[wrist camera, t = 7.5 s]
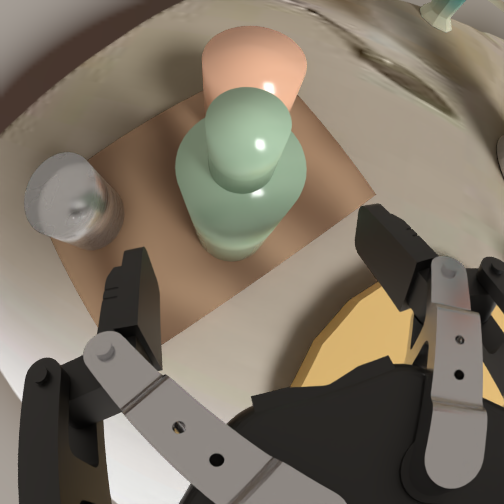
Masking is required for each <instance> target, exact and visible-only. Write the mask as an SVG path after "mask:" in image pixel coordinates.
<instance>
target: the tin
mask: <svg viewBox="0 0 504 504" xmlns="http://www.w3.org/2000/svg"><path fill="white" fill-rule="evenodd" d="M24 208H25V213H26V217H27V219H28V221H29V223H30V224H31V226H32V227H33V228H34V229H35V230H37V231H38V232H40V233H42V234H44V235H47V236H50V237H52V238H55V239H58V240H60V241H63V242H66V243H68V244H71V245H74V246H77V247H79V248H82V249H85V250H97V249H100V248H103V247H105V246H107V245H108V244H109V243H111V242H112V241H113V240H114V239H115V238H116V236H117V235H118V233H119V231H120V230H121V227H122V224H123V221H124V206H123V202H122V200H121V198H120V196H119V194H118V193H117V192H116V191H115V190H114V189H113V188H112V187H111V186H110V185H109V184H108V183H107V182H106V181H105V179H104V178H103V177H102V176H101V175H100V174H99V173H98V172H97V171H96V170H95V169H94V168H93V167H92V166H91V165H90V163H89V162H88V161H87V160H86V159H85V158H83V157H82V156H80V155H79V154H76V153H72V152H64V153H59V154H56V155H53V156H51V157H50V158H48V159H47V160H45V161H44V162H43V163H42V164H41V165H40V166H39V167H38V168H37V169H36V170H35V172H34V173H33V175H32V176H31V178H30V180H29V182H28V185H27V188H26V192H25V198H24Z"/></svg>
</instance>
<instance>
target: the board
mask: <svg viewBox="0 0 504 504" xmlns="http://www.w3.org/2000/svg"><path fill="white" fill-rule="evenodd" d="M290 116H291V120H292V129H291V131H292V132H293V133H294V135H295V136H296V138H297V139H298V141H299V143H300V144H301V146H302V149H303V152H304V155H305V159H306V168H307V171H306V180H305V184H304V187H303V190H302V192H301V194H300V196H299V198H298V199H297V201H296V202H295V203H294V205H293V206H292V207H291V209H290V210H289V211H288V212H287V214H286V215H285V216H284V217H283V219H282V220H281V221H280V222H279V224H278V225H277V226H276V227H275V229H274V230H273V231H272V233H271V234H270V235H269V236H268V238H267V239H266V240H265V241H264V243H263V244H262V245H261V246H260V248H259V249H258V250H257V251H256V252H255V253H254V254H253V255H251V256H250V257H248V258H246V259H243V260H240V261H234V262H229V261H223V260H220V259H217V258H215V257H213V256H212V255H211V254H209V253H208V252H207V251H206V250H205V249H204V247H203V246H202V244H201V243H200V240H199V238H198V235H197V233H196V230H195V227H194V225H193V222H192V220H191V217H190V214H189V212H188V209H187V207H186V204H185V201H184V199H183V196H182V193H181V191H180V188H179V185H178V182H177V178H176V170H175V163H176V156H177V151H178V149H179V146H180V144H181V142H182V140H183V138H184V137H185V135H186V134H187V133H188V131H189V130H190V129H191V128H192V127H193V126H194V125H195V124H197V123H198V122H199V121H200V120H202V119H204V118H205V110H204V92H203V91H201V92H199V93H197V94H195V95H193V96H191V97H189V98H187V99H186V100H184V101H182V102H180V103H178V104H176V105H174V106H173V107H171V108H169V109H167V110H165V111H164V112H162V113H160V114H158V115H157V116H155V117H153V118H152V119H150V120H148V121H146V122H145V123H143V124H142V125H140V126H138V127H137V128H135V129H133V130H132V131H130V132H129V133H127V134H125V135H124V136H122V137H121V138H119V139H118V140H116V141H115V142H113V143H112V144H110V145H109V146H107V147H106V148H104V149H103V150H101V151H100V152H98V153H97V154H96V155H94V156H93V157H91V158H90V159H89V160H87V161H88V162H89V163H90V165H91V166H92V167H93V168H94V169H95V170H96V171H97V172H98V173H99V174H100V175H101V176H102V177H103V178H104V179H105V181H106V182H107V183H108V184H109V185H110V186H111V187H112V188H113V189H114V190H115V191H116V192H117V193H118V194H119V196H120V198H121V200H122V202H123V206H124V221H123V224H122V227H121V230H120V231H119V233H118V235H117V236H116V238H115V239H114V240H113V241H112V242H111V243H109V244H108V245H107V246H105V247H103V248H100V249H97V250H85V249H82V248H79V247H77V246H74V245H71V244H68V243H66V242H63V241H60V240H58V239H55V238H52V237H50V238H51V240H52V242H53V245H54V247H55V249H56V251H57V253H58V255H59V257H60V259H61V261H62V263H63V265H64V267H65V269H66V271H67V273H68V275H69V277H70V279H71V281H72V283H73V285H74V287H75V288H76V290H77V292H78V294H79V296H80V298H81V299H82V301H83V303H84V305H85V306H86V308H87V310H88V312H89V313H90V315H91V317H92V318H93V320H94V322H95V323H96V325H97V327H98V324H99V318H100V311H101V305H102V301H103V293H104V291H105V290H104V288H105V282H106V278H107V276H108V275H109V273H110V272H111V270H112V269H113V267H118V266H122V259H123V253H124V251H125V250H130V249H134V248H139V247H145V248H146V250H147V252H148V255H149V258H150V261H151V264H152V267H153V270H154V272H155V275H156V278H157V281H158V285H159V291H160V324H161V345H162V344H164V343H165V342H167V341H168V340H170V339H171V338H173V337H174V336H176V335H177V334H179V333H180V332H182V331H183V330H185V329H186V328H188V327H189V326H191V325H192V324H194V323H195V322H197V321H198V320H200V319H201V318H202V317H204V316H205V315H207V314H208V313H210V312H211V311H213V310H214V309H216V308H217V307H219V306H220V305H222V304H223V303H224V302H226V301H227V300H229V299H230V298H232V297H233V296H235V295H236V294H238V293H239V292H240V291H242V290H243V289H245V288H246V287H248V286H249V285H251V284H252V283H253V282H255V281H256V280H258V279H259V278H261V277H262V276H263V275H265V274H266V273H268V272H269V271H271V270H272V269H273V268H275V267H276V266H278V265H279V264H281V263H282V262H283V261H285V260H286V259H288V258H289V257H290V256H292V255H293V254H295V253H296V252H298V251H299V250H300V249H302V248H303V247H305V246H306V245H307V244H309V243H310V242H312V241H313V240H314V239H316V238H317V237H319V236H320V235H321V234H323V233H324V232H325V231H327V230H328V229H330V228H331V227H332V226H334V225H335V224H337V223H338V222H339V221H341V220H342V219H343V218H345V217H346V216H348V215H349V214H350V213H352V212H353V211H354V210H356V209H357V208H358V207H360V206H361V205H363V204H364V203H365V202H367V201H368V200H369V199H371V198H372V197H373V196H375V195H376V194H375V192H374V191H373V190H372V188H371V187H370V185H369V184H368V182H367V181H366V180H365V178H364V177H363V175H362V174H361V173H360V171H359V170H358V169H357V167H356V166H355V165H354V163H353V162H352V161H351V159H350V158H349V157H348V155H347V154H346V153H345V151H344V150H343V149H342V148H341V146H340V145H339V144H338V142H337V141H336V140H335V139H334V137H333V136H332V135H331V134H330V132H329V131H328V130H327V129H326V128H325V126H324V125H323V124H322V123H321V121H320V120H319V119H318V118H317V117H316V116H315V114H314V113H313V112H312V111H311V110H310V109H309V107H308V106H307V105H306V104H305V103H304V102H303V100H302V99H301V98H300V97H299V96H298V95H297V96H296V99H295V101H294V104H293V106H292V109H291V111H290Z"/></svg>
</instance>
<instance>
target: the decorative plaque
mask: <svg viewBox="0 0 504 504" xmlns="http://www.w3.org/2000/svg"><path fill="white" fill-rule="evenodd" d="M412 313H413V311H412V309H411V308H410V309H408V310H405V311H402V312H399V310H398V309H397V307H396V306H395V305H394V303H393V302H392V300H391V299H390V297H389V296H388V294H387V293H386V292H385V290H384V289H383V287H382V286H381V285H380V283H379V282H377V283H375V284H374V285H372V286H371V287H369V288H367V289H366V290H364V291H363V292H361V293H360V294H358V295H357V296H355V297H353V298H352V299H350V300H349V301H348V302H347V303H346V304H345V305H344V306H343V307H342V309H341V310H340V311H339V312H338V313H337V314H336V316H335V317H334V318H333V319H332V320H331V321H330V322H329V324H328V325H327V326H326V327H325V328H324V329H323V330H322V332H321V333H320V334H319V335H318V336H317V337H316V338H315V339H314V340H313V343H312V345H311V347H310V349H309V351H308V353H307V355H306V357H305V359H304V361H303V363H302V365H301V367H300V369H299V371H298V373H297V375H296V377H295V379H294V381H293V382H292V384H291V386H290V387H307V386H324V385H328V384H331V383H332V382H334V381H336V380H337V379H339V378H340V377H342V376H344V375H345V374H347V373H348V372H350V371H351V370H353V369H355V368H356V367H358V366H360V365H363V364H365V363H368V362H371V361H374V360H377V359H379V358H382V357H385V356H387V355H389V357H390V359H391V361H392V363H393V364H404V361H405V357H406V352H407V345H408V337H409V329H410V320H411V316H412ZM491 315H492V316H493V318H494V319H495V321H496V322H497V324H498V325H499V326H500V328H501V329H502V331H503V332H504V314H503V312H502V311H501V310H500V308H499V307H498V306H497V305H496V307H495V308H494V310H493V312H492V314H491ZM483 398H485V399H487V400H490V401H492V402H494V403H496V404H498V405H500V406H503V405H504V399H503V397H502V395H501V393H500V391H499V389H498V387H497V386H496V384H495V382H494V380H493V378H492V377H491V375H490V373H489V371H488V370H487V368H486V366H485V365H484V363H483Z"/></svg>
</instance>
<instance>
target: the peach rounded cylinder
mask: <svg viewBox="0 0 504 504" xmlns="http://www.w3.org/2000/svg"><path fill="white" fill-rule="evenodd" d="M306 70H307V62H306V58H305V55H304V53H303V51H302V50H301V48H300V47H299V46H298V45H297V44H296V43H295V42H294V41H293V40H292V39H290V38H289V37H287V36H286V35H284V34H282V33H280V32H278V31H275V30H272V29H269V28H265V27H258V26H241V27H235V28H231V29H228V30H225V31H223V32H221V33H219V34H217V35H216V36H214V37H213V38H212V39H211V40H210V41H209V42H208V43H207V45H206V46H205V48H204V50H203V54H202V72H203V92H204V110H205V116H206V112H207V109H208V107H209V106H210V104H211V103H212V101H213V100H214V99H215V98H216V97H218V96H219V95H220V94H222V93H224V92H226V91H228V90H230V89H234V88H239V87H254V88H259V89H263V90H265V91H268V92H270V93H272V94H273V95H275V96H276V97H278V98H279V99H280V100H281V101H282V102H283V103H284V104H285V106H286V107H287V109H288V111H289V113H290V111H291V109H292V106H293V104H294V101H295V99H296V96H297V94H298V91H299V89H300V86H301V84H302V81H303V79H304V76H305V74H306Z"/></svg>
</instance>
